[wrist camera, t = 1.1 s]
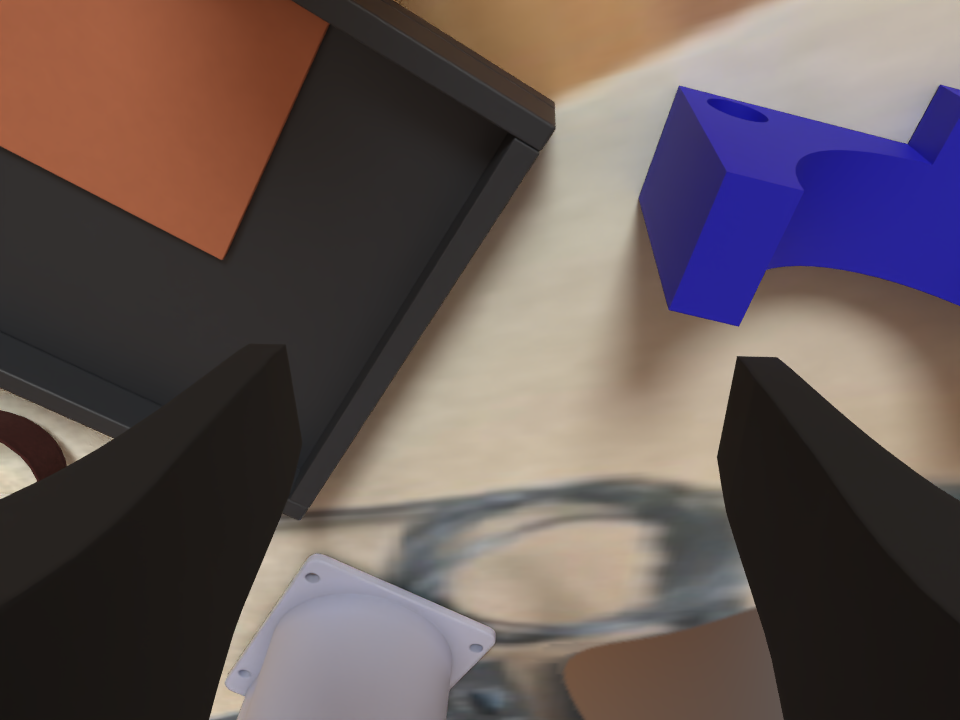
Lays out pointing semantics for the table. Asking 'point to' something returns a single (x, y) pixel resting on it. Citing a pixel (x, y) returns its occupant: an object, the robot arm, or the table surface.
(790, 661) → the robot arm
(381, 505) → the table surface
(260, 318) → the tray
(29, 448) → the watch
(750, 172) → the blue u-shaped bracket
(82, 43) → the corner pad
